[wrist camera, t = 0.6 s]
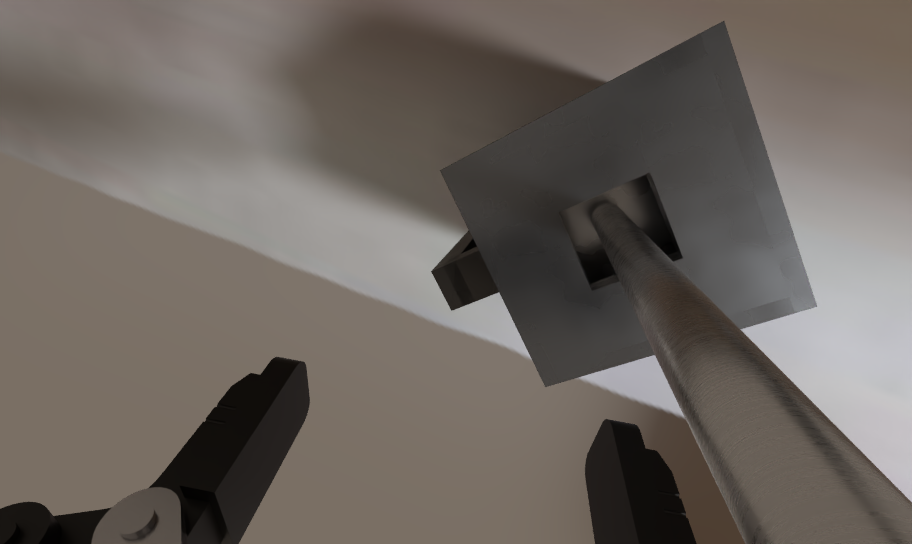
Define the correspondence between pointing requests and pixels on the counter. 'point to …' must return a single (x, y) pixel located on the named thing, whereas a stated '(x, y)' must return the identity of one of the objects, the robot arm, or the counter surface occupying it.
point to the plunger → (736, 393)
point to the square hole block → (606, 167)
